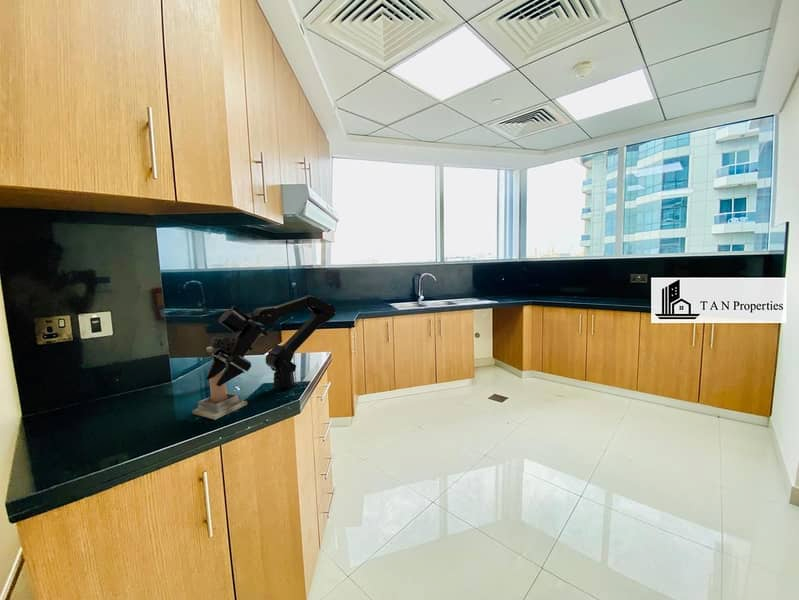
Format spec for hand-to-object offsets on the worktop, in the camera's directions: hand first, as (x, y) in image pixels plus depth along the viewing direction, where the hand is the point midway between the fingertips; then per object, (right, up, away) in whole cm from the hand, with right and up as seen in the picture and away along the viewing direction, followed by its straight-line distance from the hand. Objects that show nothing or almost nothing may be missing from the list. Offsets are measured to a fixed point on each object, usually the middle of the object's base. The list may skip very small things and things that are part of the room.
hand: (212, 382), depth 101 cm
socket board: (+1, -9, +2) cm, 9 cm away
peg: (+1, -8, +2) cm, 8 cm away
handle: (-11, -7, +25) cm, 29 cm away
